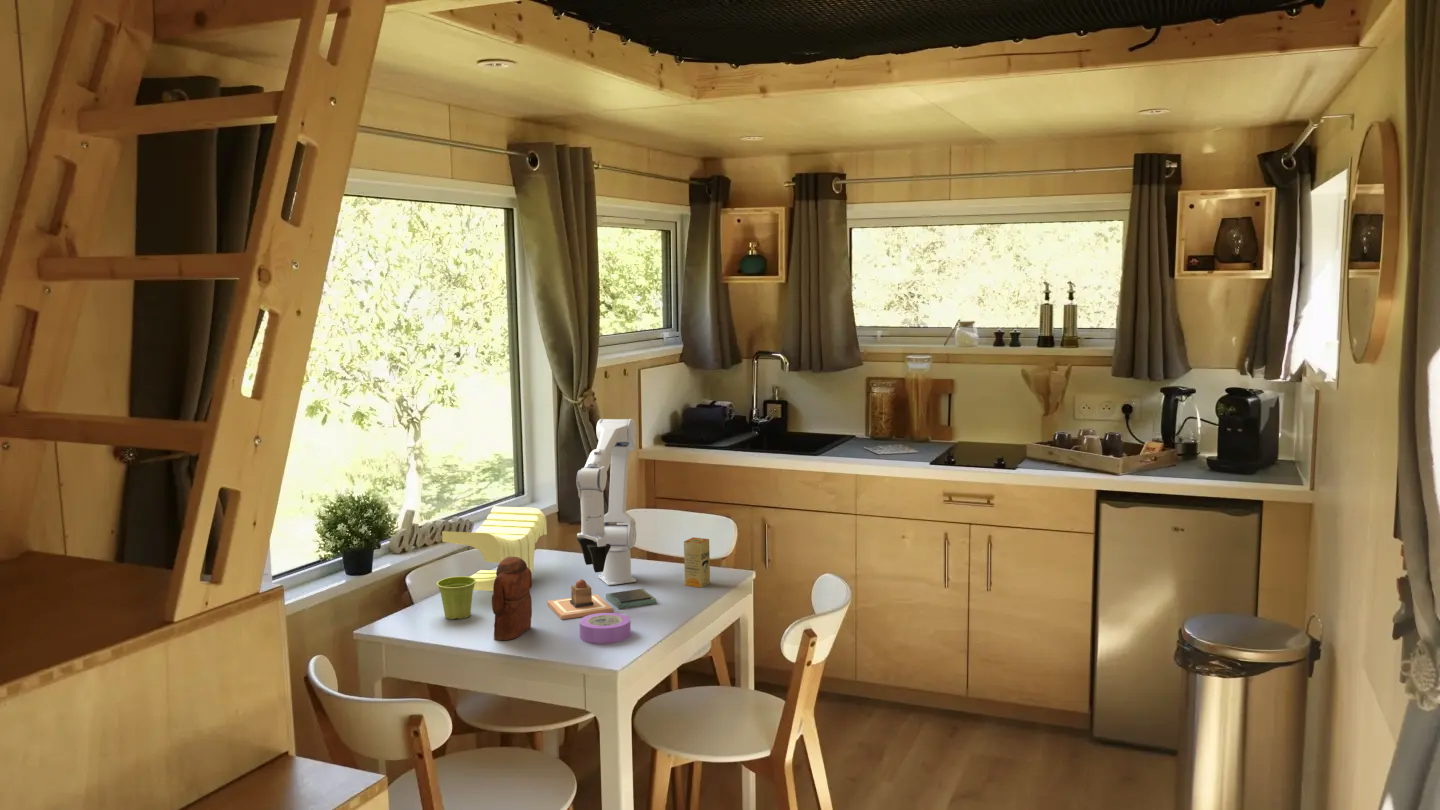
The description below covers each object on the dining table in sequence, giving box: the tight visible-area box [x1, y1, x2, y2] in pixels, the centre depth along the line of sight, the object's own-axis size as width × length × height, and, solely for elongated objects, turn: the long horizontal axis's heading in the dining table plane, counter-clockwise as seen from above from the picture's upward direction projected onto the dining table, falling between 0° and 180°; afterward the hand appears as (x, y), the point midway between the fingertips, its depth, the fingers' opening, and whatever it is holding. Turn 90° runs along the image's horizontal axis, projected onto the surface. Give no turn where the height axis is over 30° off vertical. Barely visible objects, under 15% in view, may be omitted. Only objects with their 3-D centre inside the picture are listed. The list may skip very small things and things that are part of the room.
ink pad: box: [605, 588, 657, 610], centre depth 272 cm, size 10×10×2 cm
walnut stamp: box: [570, 579, 593, 608], centre depth 267 cm, size 5×5×6 cm
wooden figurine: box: [491, 557, 533, 641], centre depth 248 cm, size 12×6×18 cm, turn 164°
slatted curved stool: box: [441, 506, 548, 592], centre depth 289 cm, size 30×16×18 cm, turn 166°
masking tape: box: [579, 612, 632, 645], centre depth 247 cm, size 12×12×4 cm
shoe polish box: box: [683, 537, 711, 589], centre depth 286 cm, size 5×5×12 cm
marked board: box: [546, 593, 614, 621], centre depth 267 cm, size 13×13×1 cm
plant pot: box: [436, 575, 476, 620], centre depth 262 cm, size 9×9×9 cm
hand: (594, 567), depth 270 cm, fingers open, 7 cm apart
